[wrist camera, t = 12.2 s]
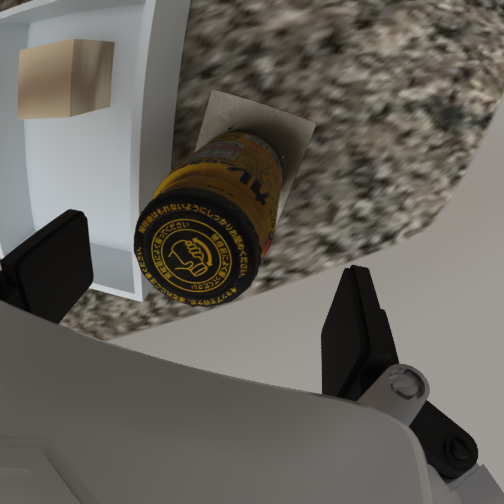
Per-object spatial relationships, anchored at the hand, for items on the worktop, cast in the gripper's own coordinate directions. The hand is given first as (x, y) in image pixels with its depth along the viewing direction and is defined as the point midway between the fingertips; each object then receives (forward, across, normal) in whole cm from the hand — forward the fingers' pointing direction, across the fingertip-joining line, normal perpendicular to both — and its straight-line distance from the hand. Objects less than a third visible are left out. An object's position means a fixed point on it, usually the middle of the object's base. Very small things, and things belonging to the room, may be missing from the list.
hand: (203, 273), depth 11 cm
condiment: (+14, +1, -1) cm, 14 cm away
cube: (+12, +14, -6) cm, 19 cm away
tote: (+13, +14, -2) cm, 19 cm away
